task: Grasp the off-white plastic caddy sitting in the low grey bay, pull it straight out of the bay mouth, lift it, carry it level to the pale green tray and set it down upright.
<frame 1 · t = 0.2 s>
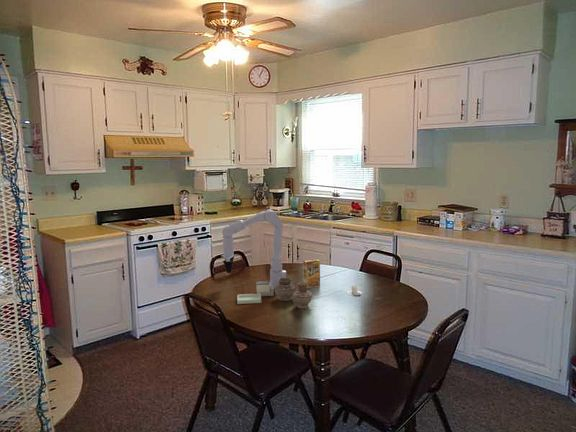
hand: (229, 270, 241), 10 cm above the table, fingers open, 7 cm apart
candy box: (311, 286, 244), on the table
caddy: (263, 294, 231), on the table
bay: (263, 294, 231), on the table
white headphones: (350, 295, 229), on the table
tray: (249, 300, 222), on the table
pottery: (293, 303, 218), on the table
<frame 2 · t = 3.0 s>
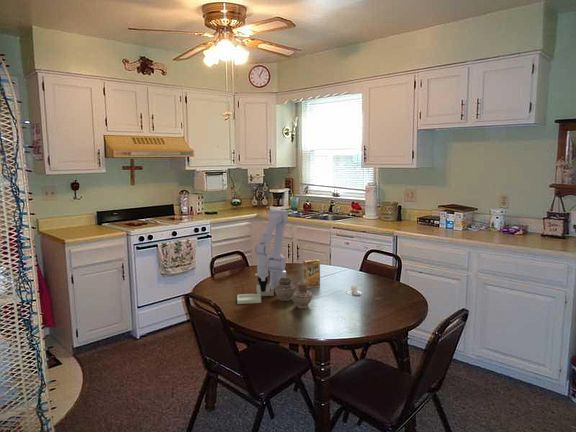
hand: (263, 290, 231), 2 cm above the table, fingers closed on caddy, 4 cm apart
caddy: (263, 294, 231), on the table, touching gripper
everything else where it was.
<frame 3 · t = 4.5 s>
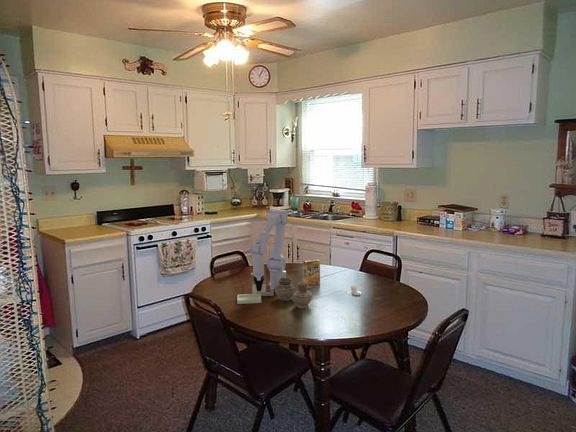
hand: (259, 289, 231), 3 cm above the table, fingers closed on caddy, 4 cm apart
caddy: (259, 293, 231), on the table, touching gripper
everything else where it was.
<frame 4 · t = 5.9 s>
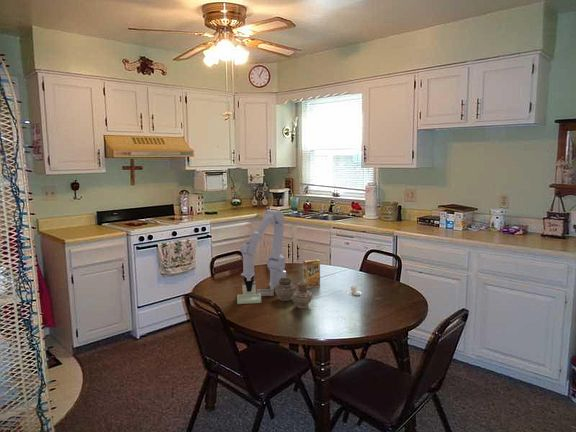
hand: (249, 290, 230), 3 cm above the table, fingers closed on caddy, 4 cm apart
caddy: (249, 293, 231), on the table, touching gripper
everything else where it was.
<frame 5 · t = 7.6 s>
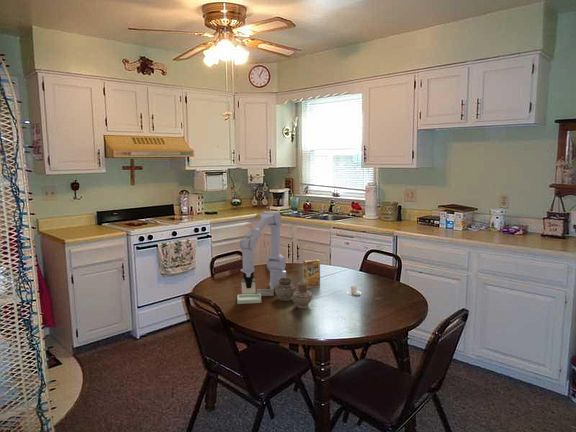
hand: (248, 286, 221), 7 cm above the table, fingers closed on caddy, 4 cm apart
caddy: (248, 292, 221), point 4 cm above the table, touching gripper
everything else where it was.
when the fingers open (4 cm above the table, at t = 8.9 s): caddy stays where it is, resting on tray.
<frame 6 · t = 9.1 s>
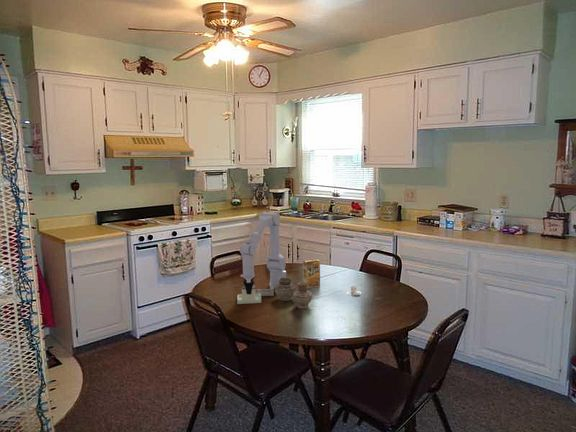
hand: (249, 292, 221), 4 cm above the table, fingers open, 6 cm apart
caddy: (248, 299, 222), point 1 cm above the table, touching tray
everything else where it was.
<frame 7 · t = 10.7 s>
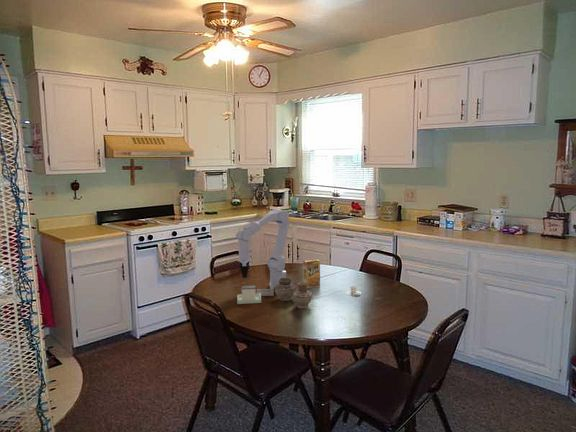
hand: (244, 275, 232), 10 cm above the table, fingers open, 7 cm apart
nothing on the table moved.
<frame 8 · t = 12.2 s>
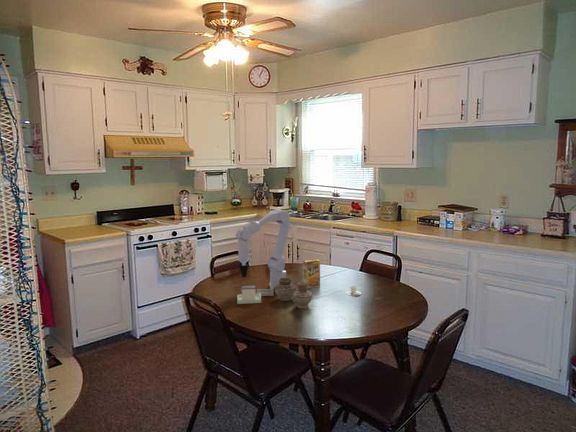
hand: (244, 275, 233), 10 cm above the table, fingers open, 7 cm apart
nothing on the table moved.
at the end: caddy inside the target area on the tray (0.2 cm from its centre), point 0.6 cm above the tray's base; caddy tilted 0°; the gripper is holding nothing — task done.
